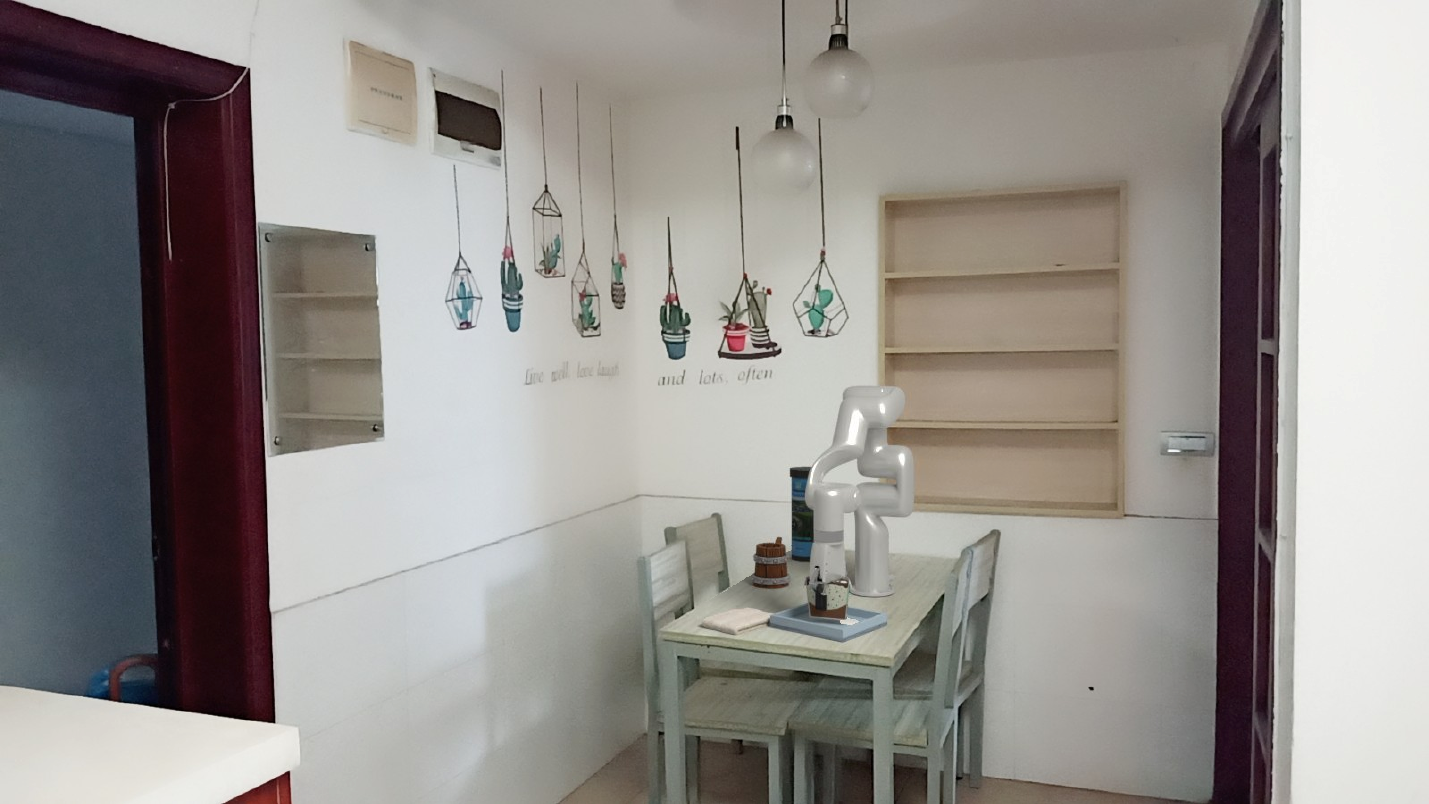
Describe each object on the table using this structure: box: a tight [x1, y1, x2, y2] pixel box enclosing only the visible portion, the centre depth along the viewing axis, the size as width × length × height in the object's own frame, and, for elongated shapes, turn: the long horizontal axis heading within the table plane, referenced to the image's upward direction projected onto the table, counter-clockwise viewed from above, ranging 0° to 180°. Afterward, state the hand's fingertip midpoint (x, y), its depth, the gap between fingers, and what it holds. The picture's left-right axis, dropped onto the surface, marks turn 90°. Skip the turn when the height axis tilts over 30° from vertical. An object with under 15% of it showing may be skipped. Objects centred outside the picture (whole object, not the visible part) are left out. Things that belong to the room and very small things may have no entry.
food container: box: [803, 575, 852, 620], centre depth 268 cm, size 12×6×10 cm, turn 68°
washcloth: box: [701, 607, 775, 636], centre depth 270 cm, size 12×18×3 cm, turn 137°
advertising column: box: [789, 466, 814, 563], centre depth 351 cm, size 11×11×30 cm
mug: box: [751, 536, 792, 590], centre depth 315 cm, size 12×14×15 cm
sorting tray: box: [769, 602, 888, 643], centre depth 268 cm, size 20×22×3 cm
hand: (828, 606), depth 267 cm, fingers closed on food container, 5 cm apart
